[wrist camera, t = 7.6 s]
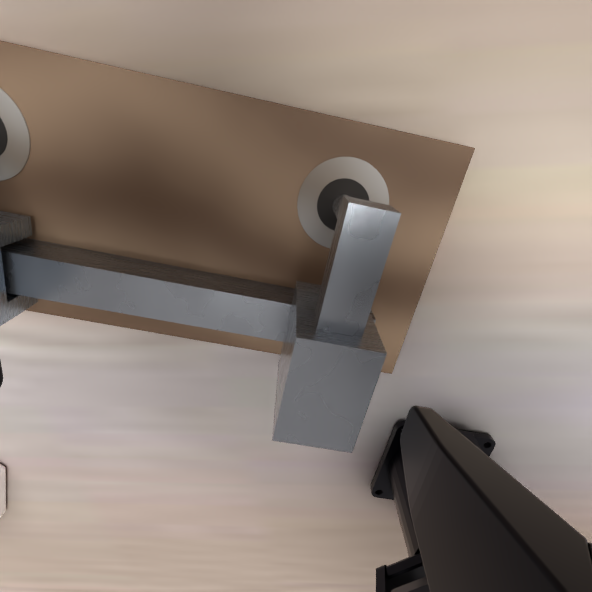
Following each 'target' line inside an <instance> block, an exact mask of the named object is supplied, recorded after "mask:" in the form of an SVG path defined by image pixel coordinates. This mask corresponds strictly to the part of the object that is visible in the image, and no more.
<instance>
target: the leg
mask: <svg viewBox="0 0 592 592" xmlns="http://www.w3.org/2000/svg"><path fill="white" fill-rule="evenodd" d="M29 236H32V227H31V217H30V216H25V215H20V214H15V213H10V212H5V211H0V326H1V325H3V324H4V323H6V322H7V321H9V320H10V319H12V318H14V317H15V316H17V315H18V314H20V313H21V312H23V311H25V310H26V309H28V308H29V307H31V306H32V305H34V304H36V303H37V302H38V298H32V297H27V296H21V295H15V294H10V293H6V287H5V279H4V271H3V263H2V255H1V247H2V246H5V245H8V244H10V243H13V242H16V241H18V240H21V239H24V238H27V237H29Z"/></svg>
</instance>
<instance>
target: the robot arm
mask: <svg viewBox="0 0 592 592" xmlns="http://www.w3.org/2000/svg"><path fill="white" fill-rule="evenodd" d="M2 382H3V373H2V367H1V361H0V387H1V385H2ZM401 429H403V430H401ZM486 442H487V443H486ZM494 447H495V441H494V440H493V438H492V437H491V436H490V435H488V434H482V433H476V432H470V431H464V430H457V429H455V428H454V427H453V426H452V425H450V424H449V423H448V422H447V421H446V420H445V419H443V418H442V417H441V416H440V415H439V414H437V413H436V412H435V411H434V410H433V409H431V408H427V407H420V406H413V407H411V409H410V410H409V413H408V416H407V418H406V421H400V422H398V423H397V424H396V425H395V427H394V430H393V432H392V435H391V437H390V439H389V442H388V444H387V447H386V449H385V452H384V454H383V457H382V459H381V462H380V464H379V467H378V469H377V472H376V474H375V477H374V479H373V482H372V484H371V493H372V495H373V496H374V497H378V498H385V499H392V500H394V501H395V505H396V509H397V513H398V516H399V520H400V524H401V528H402V531H403V535H404V539H405V543H406V547H407V550H408V554H409V557H408V558H406V559H403V560H401V561H398V562H396V563H394V564H391V565H389V566H386V565H383V566H381V567H379V568H376V592H592V543H587V540H586V538H585V537H584V536H582V535H581V534H580V533H579V532H578V531H576V530H575V529H574V528H573V527H572V526H570V525H569V524H568V523H567V522H566V521H565V520H563V519H562V518H561V517H560V516H559V515H557V514H556V513H555V512H554V511H553V510H551V509H550V508H549V507H548V506H547V505H546V504H544V503H543V502H542V501H541V500H540V499H538V498H537V497H536V496H535V495H534V494H532V493H531V492H530V491H529V490H528V489H527V488H525V487H524V486H523V485H522V484H521V483H519V482H518V481H517V480H516V479H515V478H513V477H512V476H511V475H510V474H509V473H508V472H506V471H505V470H504V469H503V468H502V467H500V466H499V465H498V464H497V463H496V462H494V461H493V460H492V459H491V458H490V457H489V456H490V454H491V452H492V450H493V449H494Z"/></svg>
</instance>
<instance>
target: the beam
mask: <svg viewBox="0 0 592 592" xmlns="http://www.w3.org/2000/svg"><path fill="white" fill-rule="evenodd" d="M332 208H333V211H334V213H335V215H336V218H337V223H336V227H335V231H334V235H333V239H332V243H331V247H330V251H329V256H328V260H327V264H326V268H325V272H324V276H323V280H322V284H321V285H318V284H312V283H307V282H302V281H296V286H295V288H290V287H285V286H279V285H274V284H269V283H263V282H258V281H253V280H247V279H242V278H237V277H231V276H226V275H221V274H216V273H210V272H205V271H200V270H194V269H189V268H184V267H178V266H173V265H168V264H162V263H157V262H152V261H147V260H141V259H136V258H131V257H125V256H120V255H115V254H109V253H104V252H99V251H93V250H88V249H83V248H78V247H72V246H67V245H62V244H56V243H51V242H46V241H40V240H35V239H30V238H24V239H21V240H18V241H16V242H13V243H10V244H8V245H5V246H2V247H1V255H2V263H3V271H4V279H5V287H6V293H10V294H15V295H21V296H27V297H32V298H38V299H44V300H49V301H55V302H61V303H66V304H72V305H78V306H83V307H89V308H95V309H100V310H106V311H112V312H117V313H123V314H129V315H134V316H140V317H146V318H151V319H157V320H163V321H168V322H174V323H179V324H185V325H191V326H196V327H202V328H208V329H213V330H219V331H225V332H230V333H236V334H242V335H247V336H253V337H259V338H264V339H270V340H276V341H281V342H283V345H282V350H281V355H280V359H279V366H278V378H277V390H276V402H275V414H274V426H273V437H272V440H273V441H279V442H286V443H292V444H299V445H305V446H311V447H318V448H324V449H331V450H337V451H344V452H350V453H352V451H353V448H354V446H355V443H356V440H357V437H358V434H359V431H360V429H361V426H362V423H363V420H364V417H365V414H366V412H367V409H368V406H369V403H370V400H371V398H372V395H373V392H374V389H375V386H376V383H377V381H378V378H379V375H380V372H381V369H382V366H383V364H384V361H385V358H386V355H387V352H386V350H385V347H384V345H383V343H382V340H381V338H380V335H379V333H378V330H377V328H376V326H375V322H376V319H375V317H374V314H373V312H372V310H371V308H372V305H373V301H374V298H375V295H376V292H377V289H378V286H379V282H380V279H381V276H382V273H383V270H384V267H385V263H386V260H387V257H388V254H389V251H390V247H391V244H392V241H393V238H394V235H395V232H396V228H397V225H398V222H399V219H400V216H401V213H400V212H399V211H397V210H396V209H395V208H393V207H392V206H391V205H387V204H382V203H377V202H372V201H368V200H363V199H358V198H353V197H350V196H348V195H340V196H338V197H336V198H335V200H334V201H333V205H332Z"/></svg>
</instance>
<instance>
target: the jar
mask: <svg viewBox="0 0 592 592" xmlns="http://www.w3.org/2000/svg"><path fill="white" fill-rule="evenodd" d="M5 511H6V468H5V467H4V466H3V465H1V464H0V518H1V517H2V515H3V514H4V513H5Z"/></svg>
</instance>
